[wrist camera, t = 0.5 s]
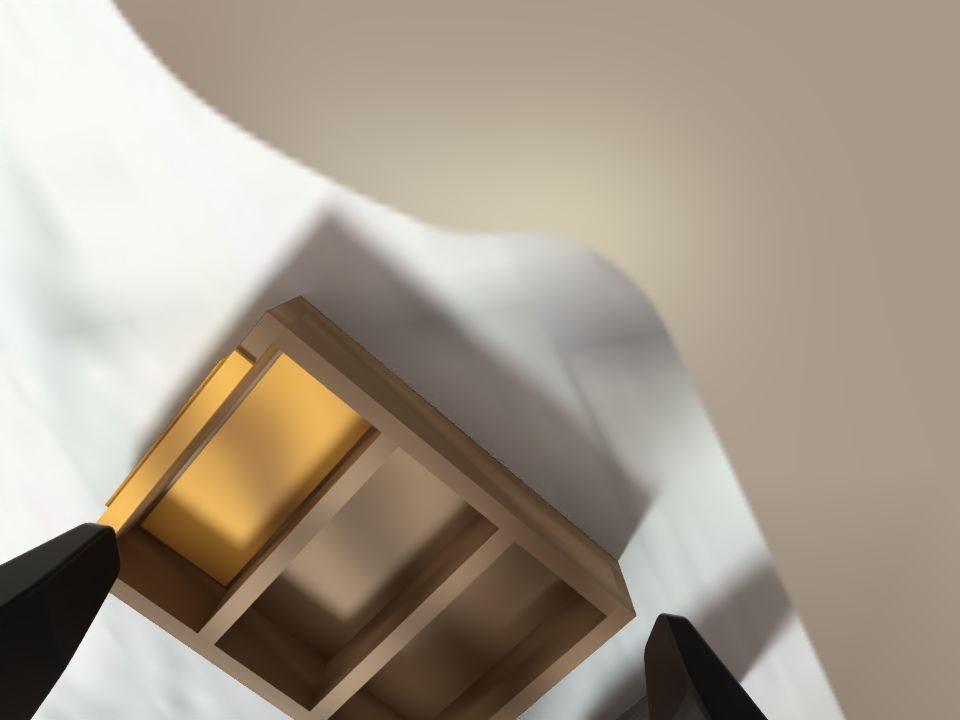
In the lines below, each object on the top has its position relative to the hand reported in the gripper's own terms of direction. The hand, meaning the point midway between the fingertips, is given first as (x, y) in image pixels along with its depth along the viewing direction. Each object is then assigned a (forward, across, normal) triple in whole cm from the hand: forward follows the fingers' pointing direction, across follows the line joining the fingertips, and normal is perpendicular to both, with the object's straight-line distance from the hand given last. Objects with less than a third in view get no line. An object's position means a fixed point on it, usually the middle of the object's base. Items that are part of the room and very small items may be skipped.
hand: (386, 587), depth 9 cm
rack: (+13, +3, +12) cm, 18 cm away
